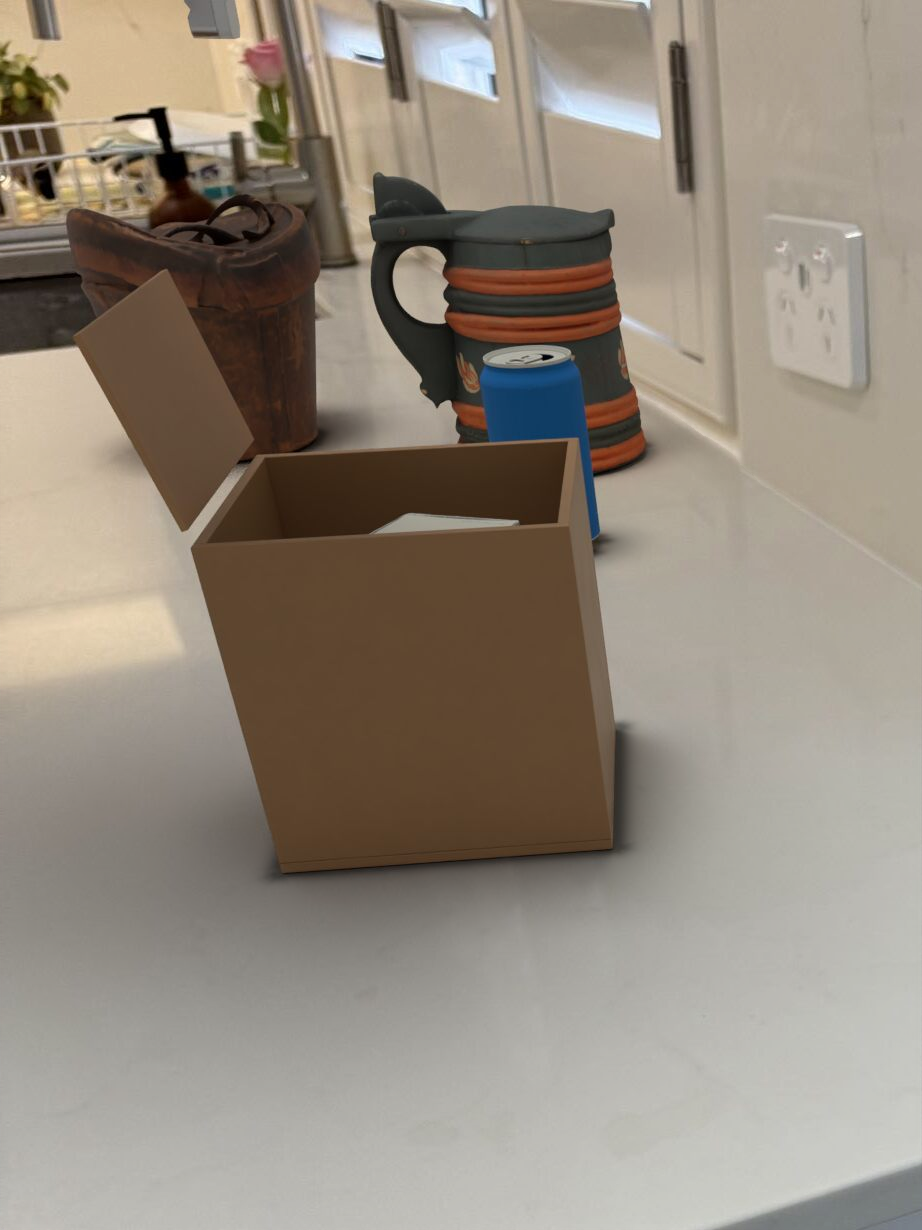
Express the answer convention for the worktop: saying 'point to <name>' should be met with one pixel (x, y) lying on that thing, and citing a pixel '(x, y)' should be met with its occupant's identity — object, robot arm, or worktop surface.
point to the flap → (167, 394)
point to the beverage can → (538, 403)
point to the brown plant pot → (226, 301)
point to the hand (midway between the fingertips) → (85, 38)
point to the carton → (416, 653)
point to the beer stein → (509, 305)
